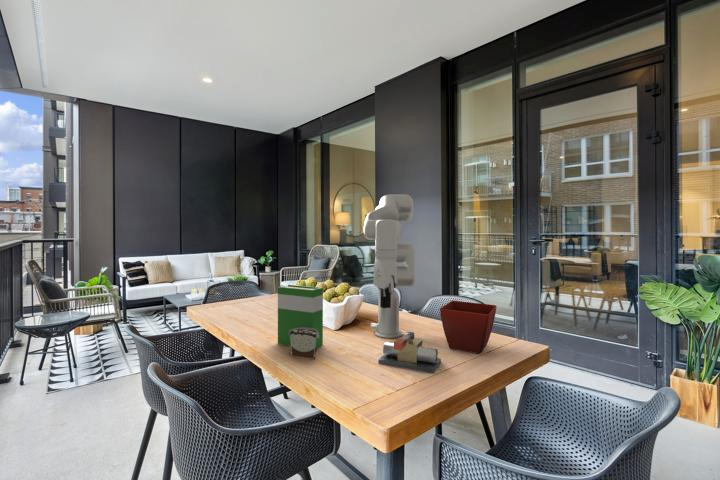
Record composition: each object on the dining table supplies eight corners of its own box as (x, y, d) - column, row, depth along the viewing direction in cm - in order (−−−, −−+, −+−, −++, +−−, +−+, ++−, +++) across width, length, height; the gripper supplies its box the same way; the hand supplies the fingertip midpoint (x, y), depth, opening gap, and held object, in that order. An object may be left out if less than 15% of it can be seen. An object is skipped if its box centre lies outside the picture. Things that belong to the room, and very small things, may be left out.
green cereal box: (277, 343, 152) (277, 286, 151) (288, 338, 158) (288, 284, 158) (312, 350, 144) (312, 290, 143) (322, 344, 150) (322, 287, 150)
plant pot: (488, 358, 135) (489, 314, 135) (438, 350, 145) (439, 308, 144) (496, 344, 152) (497, 305, 151) (451, 337, 161) (451, 300, 161)
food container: (324, 354, 139) (324, 328, 138) (317, 359, 133) (317, 333, 132) (296, 350, 143) (296, 325, 142) (288, 355, 137) (288, 329, 136)
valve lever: (407, 337, 132) (407, 331, 132) (415, 338, 131) (415, 332, 130) (393, 349, 118) (393, 342, 118) (401, 350, 117) (401, 343, 117)
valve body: (378, 363, 129) (378, 339, 129) (389, 354, 139) (389, 331, 139) (433, 373, 121) (433, 347, 121) (441, 362, 131) (441, 338, 130)
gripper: (367, 254, 131) (367, 304, 131) (385, 256, 117) (385, 312, 117) (386, 253, 133) (385, 303, 134) (406, 256, 120) (405, 311, 120)
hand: (385, 307), depth 125 cm, fingers closed
